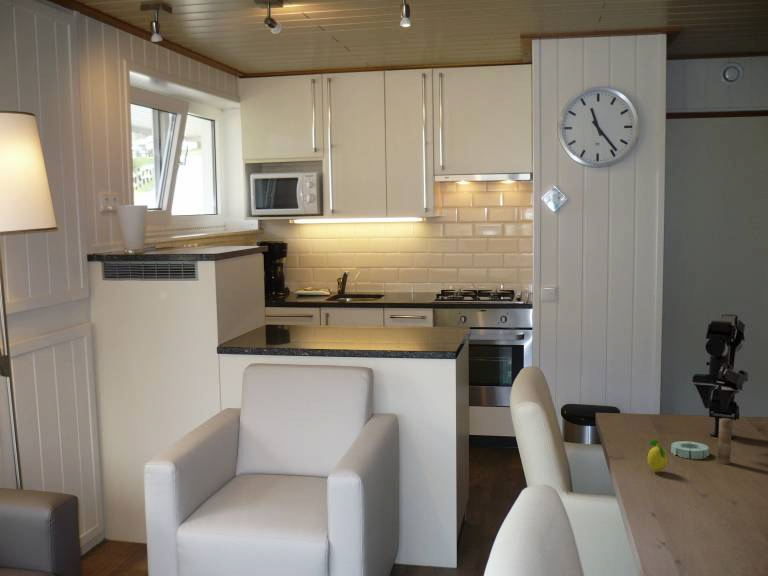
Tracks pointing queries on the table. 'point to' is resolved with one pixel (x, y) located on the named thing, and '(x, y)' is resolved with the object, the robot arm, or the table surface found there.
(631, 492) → the table surface
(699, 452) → the ring
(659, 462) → the lemon
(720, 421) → the dowel
